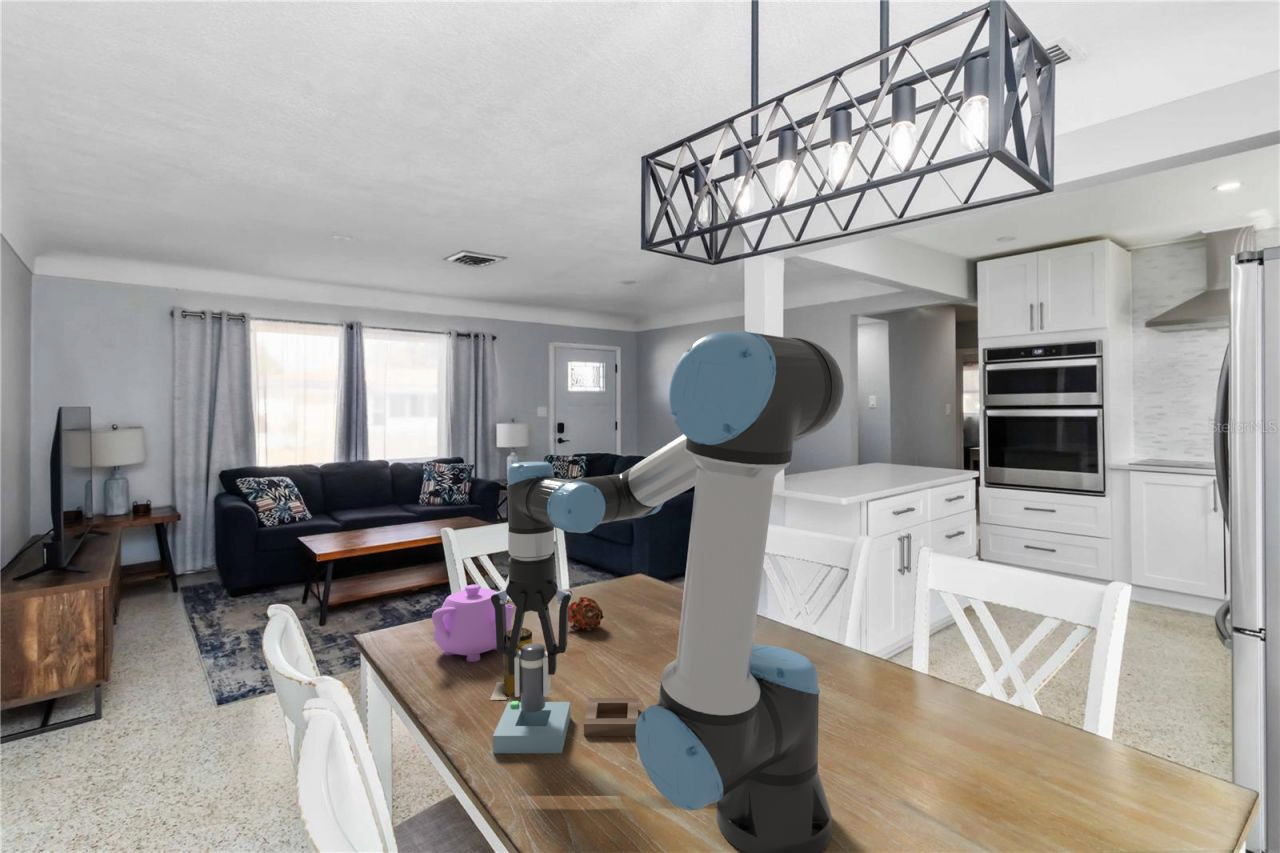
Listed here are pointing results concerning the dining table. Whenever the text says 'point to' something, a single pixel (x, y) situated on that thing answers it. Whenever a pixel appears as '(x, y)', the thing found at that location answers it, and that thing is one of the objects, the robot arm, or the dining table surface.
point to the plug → (532, 677)
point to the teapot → (468, 623)
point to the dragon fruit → (584, 614)
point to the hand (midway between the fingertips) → (532, 692)
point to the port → (532, 729)
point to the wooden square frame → (611, 717)
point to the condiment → (509, 680)
